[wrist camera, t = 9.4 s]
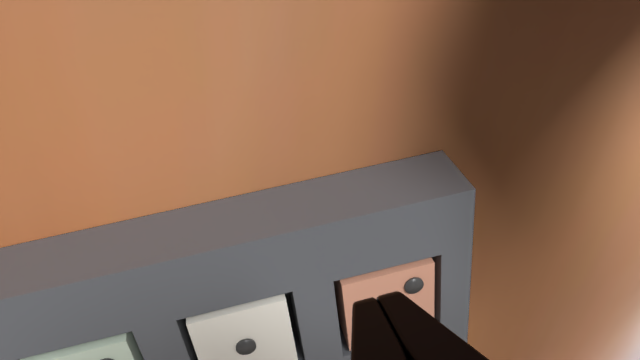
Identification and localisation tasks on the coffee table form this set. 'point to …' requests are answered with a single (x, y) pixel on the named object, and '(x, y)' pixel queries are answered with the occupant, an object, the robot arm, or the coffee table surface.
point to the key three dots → (386, 289)
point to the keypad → (243, 261)
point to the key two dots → (97, 350)
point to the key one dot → (244, 332)
